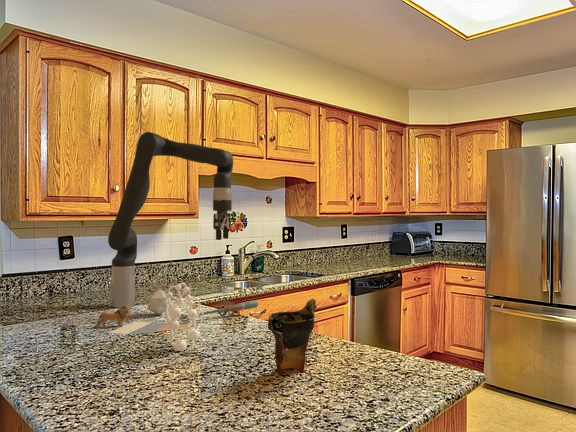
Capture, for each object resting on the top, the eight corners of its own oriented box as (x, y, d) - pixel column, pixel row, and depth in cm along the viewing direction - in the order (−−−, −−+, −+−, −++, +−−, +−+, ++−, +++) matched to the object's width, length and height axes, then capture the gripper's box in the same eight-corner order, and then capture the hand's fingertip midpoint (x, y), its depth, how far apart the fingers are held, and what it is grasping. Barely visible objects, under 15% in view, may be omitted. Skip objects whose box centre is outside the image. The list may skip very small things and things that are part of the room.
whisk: (174, 331, 171) (170, 313, 172) (250, 315, 189) (246, 299, 190) (183, 326, 162) (180, 307, 164) (262, 310, 180) (258, 293, 182)
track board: (89, 332, 154) (89, 331, 154) (117, 321, 170) (117, 320, 170) (167, 337, 148) (167, 336, 148) (188, 325, 164) (188, 324, 164)
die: (165, 318, 175) (164, 291, 175) (143, 317, 177) (143, 290, 177) (174, 313, 184) (174, 288, 184) (153, 312, 185) (153, 287, 185)
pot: (297, 363, 123) (297, 295, 123) (332, 372, 116) (332, 300, 116) (251, 381, 110) (251, 305, 110) (289, 393, 103) (289, 311, 103)
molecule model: (196, 272, 134) (186, 271, 136) (159, 298, 123) (149, 296, 126) (213, 329, 140) (203, 327, 143) (179, 359, 130) (169, 356, 132)
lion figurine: (130, 324, 166) (129, 303, 166) (131, 327, 162) (131, 306, 162) (93, 327, 160) (93, 306, 160) (94, 330, 157) (94, 309, 156)
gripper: (219, 199, 197) (219, 238, 197) (207, 198, 183) (207, 240, 183) (236, 199, 195) (236, 238, 195) (225, 198, 181) (225, 240, 182)
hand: (222, 239), depth 189 cm, fingers open, 8 cm apart
